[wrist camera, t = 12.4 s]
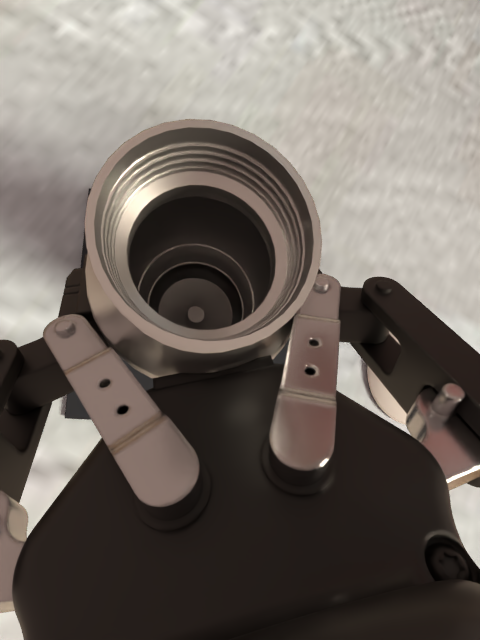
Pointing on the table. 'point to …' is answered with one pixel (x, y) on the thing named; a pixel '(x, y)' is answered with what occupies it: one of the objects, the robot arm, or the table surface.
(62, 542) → the robot arm
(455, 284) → the table surface
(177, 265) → the plastic bottle
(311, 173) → the table surface
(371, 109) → the table surface
